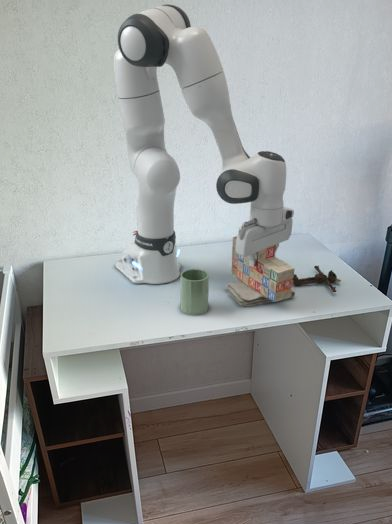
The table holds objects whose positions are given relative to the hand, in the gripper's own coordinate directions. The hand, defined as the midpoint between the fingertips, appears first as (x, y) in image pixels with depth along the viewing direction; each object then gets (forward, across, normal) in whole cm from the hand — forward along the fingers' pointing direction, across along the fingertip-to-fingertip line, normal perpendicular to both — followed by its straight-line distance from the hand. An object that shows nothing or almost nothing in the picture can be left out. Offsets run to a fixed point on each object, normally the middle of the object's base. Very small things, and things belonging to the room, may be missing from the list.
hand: (262, 261), depth 146 cm
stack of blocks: (+8, 0, 0) cm, 8 cm away
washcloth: (+11, 0, 0) cm, 11 cm away
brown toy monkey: (+11, +19, -7) cm, 23 cm away
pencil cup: (+11, -20, +7) cm, 24 cm away
